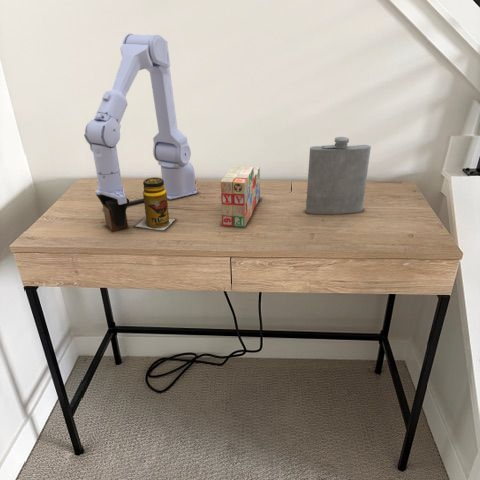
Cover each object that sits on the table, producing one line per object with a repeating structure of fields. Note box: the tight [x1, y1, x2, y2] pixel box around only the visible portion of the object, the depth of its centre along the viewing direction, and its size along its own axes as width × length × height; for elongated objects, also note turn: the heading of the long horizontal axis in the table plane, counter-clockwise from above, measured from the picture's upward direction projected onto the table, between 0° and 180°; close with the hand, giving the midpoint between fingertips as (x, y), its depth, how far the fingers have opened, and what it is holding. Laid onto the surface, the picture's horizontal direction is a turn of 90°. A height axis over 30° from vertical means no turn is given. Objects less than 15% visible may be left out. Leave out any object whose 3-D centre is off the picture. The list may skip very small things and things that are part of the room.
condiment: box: [134, 177, 176, 231], centre depth 133 cm, size 7×8×12 cm
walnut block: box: [102, 204, 129, 232], centre depth 133 cm, size 4×4×6 cm
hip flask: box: [305, 136, 372, 215], centre depth 136 cm, size 16×4×20 cm, turn 94°
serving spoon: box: [128, 197, 144, 206], centre depth 147 cm, size 16×5×1 cm, turn 124°
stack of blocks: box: [220, 165, 261, 228], centre depth 139 cm, size 21×6×12 cm, turn 167°
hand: (116, 221), depth 134 cm, fingers open, 5 cm apart
